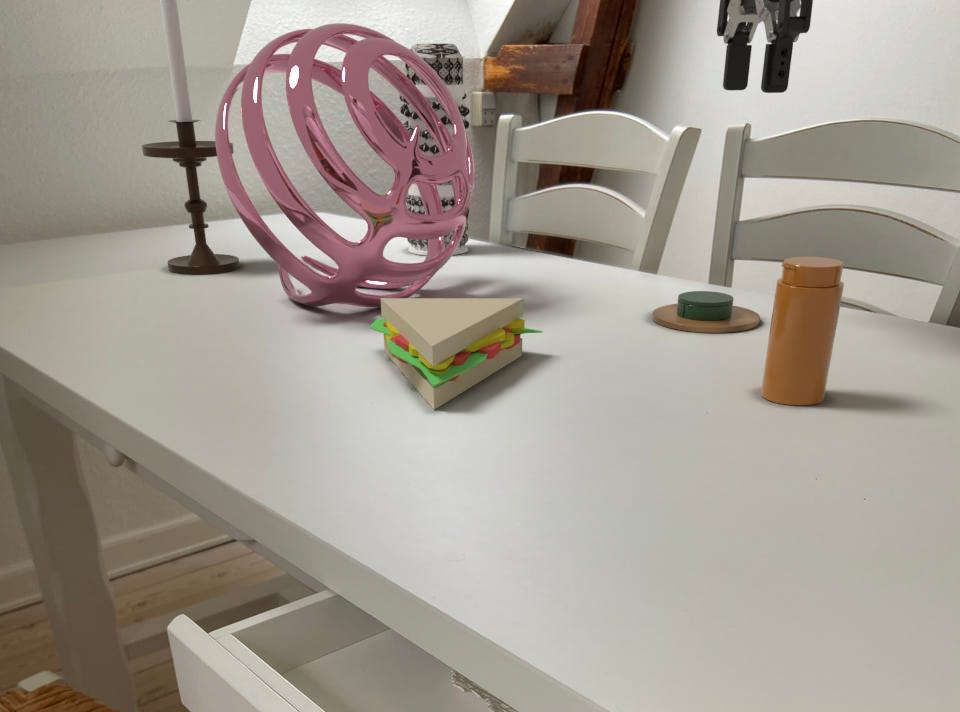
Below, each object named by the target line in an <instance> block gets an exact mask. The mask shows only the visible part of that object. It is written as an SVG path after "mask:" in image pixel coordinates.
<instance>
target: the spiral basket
mask: <svg viewBox="0 0 960 712" xmlns="http://www.w3.org/2000/svg"><path fill="white" fill-rule="evenodd" d="M348 35H351V36H355V37H360V38H363V39H360V40H358V39H356V38H353V37H351V36H348ZM291 44H295V45H294V47H293V49H292V50H291V53H276V52H277V51H279V50H280V49H281V48H283V47H285V46H288V45H291ZM321 46H327V47H329V48H332V49H335V50H338V51H340V52H343V53H345V55H344V58H343V61H342V63H341V69H340V68H338V67H336V66H334V65H332V64H330V63H328V62H325V61H323V60H321V59H317V58H316V55H317V54H318V51H319V50H320V48H321ZM410 49H411V48H408V47H407V46H404V45H403V44H401V43H399V42H397V41H396V40H394V39H392V38H391V37H390V36H387V35H386V34H384V33H381V32H379V31H377V30H375V29H372V28H369V27H366V26H362V25H359V24H355V23H354V24H353V23H345V22H344V23H343V22H342V23H341V22H339V23H338V22H335V23H328V24H323V25H319V26H317V27H315V28H301V29H296V30H292V31H289V32H286V33H284V34H282V35H279V36H277V37H275V38H274V39H272V40H271V41H269V42H268V43H266V44H265V45H264V46H263V47H262V48H261V49H260V50H259V51H258V52H257V53H256V55H255V56H254V57H253V59H252V60H251V62H249V63H248V64H247V65H246V66H244V67H242V69H240V71H238V73H236V74H235V76H234V77H233V78H232V79H231V81H230V83H229V84H228V86H227V87H226V89H225V91H224V93H223V95H222V97H221V100H220V103H219V104H218V105H219V106H218V109H217V114H216V117H215V118H216V120H215V128H214V141H215V145H216V153H217V156H216V159H217V164H218V168H219V172H220V175H221V178H222V181H223V184H224V186H225V189H226V192H227V195H228V197H229V199H230V201H231V203H232V205H233V207H234V209H235V211H236V212H237V214H238V216H239V217H240V219H241V221H242V222H243V224H244V225H245V227H246V229H247V230H248V231H249V233H250V234H251V235H252V237H253V238H254V239H255V241H256V242H257V243H258V244H259V246H260V247H261V248H262V249H263V250H264V252H265V253H266V254H267V255H268V256H269V257H270V258H271V259H272V260H273V261H274V262H275V263H276V264H277V265H278V272H279V273H278V274H279V279H280V283H281V286H282V289H283V291H284V292H285V293H286V294H285V295H287V296H288V298H290V299H291V300H292V301H294V302H296V303H298V304H300V305H303V306H307V307H313V308H314V307H315V308H318V307H324V306H329V305H336V304H337V305H346V306H354V307H360V308H381V298H411V297H412V296H413V295H415V294H416V293H418V292H419V291H420V290H422V288H423V287H425V286H426V285H427V284H428V282H429V281H430V280H431V279H432V278H433V277H434V276H435V275H436V274H437V273H438V272H439V271H440V269H442V268H443V267H444V266H445V265H446V264H447V263H448V262H449V260H450V259H451V258H452V256H454V255H453V253H454V252H455V250H456V248H457V246H458V245H459V243H460V240H461V238H462V236H463V233H464V231H465V227H466V224H467V223H468V220H469V215H470V210H471V207H472V201H473V196H474V190H475V177H476V175H475V161H474V155H473V151H472V146H471V142H470V139H469V135H468V132H467V129H465V127H464V123H463V120H464V119H463V117H461V114H460V111H459V109H458V106H457V104H456V102H455V100H454V98H453V96H452V94H451V93H450V91H449V89H448V88H447V86H446V85H445V83H444V82H443V81H442V79H441V78H440V77H439V75H438V74H437V73H436V72H435V71H434V70H433V69H432V68H431V67H430V65H428V64H427V63H426V62H425V61H424V60H423V59H422V58H421V57H420V56H418V55H417V54H416V53H414V52H413V51H411V50H410ZM275 53H276V54H275ZM385 56H393V57H397V58H398V59H400V60H401V61H403V63H404V64H405V63H406V64H407V65H408V66H409V67H410V68H411V69H412V70H413V71H414V72H415V73H416V74H417V75H418V76H419V77H420V78H421V79H422V80H423V81H424V82H425V84H426V85H427V86H428V87H429V88H430V90H431V91H432V92H433V94H434V95H435V96H436V98H437V99H438V101H439V102H440V104H441V105H442V107H443V108H444V110H445V112H446V114H447V115H448V117H449V119H450V121H451V123H452V125H453V130H454V137H453V136H452V135H451V133H450V132H449V130H448V129H447V128H446V126H445V125H444V124H443V123H442V122H441V120H440V118H439V117H438V115H437V114H436V112H435V111H434V109H433V108H432V106H431V105H430V103H429V102H428V101H427V99H426V98H425V97H424V95H423V94H422V93H421V92H420V91H419V89H418V88H417V87H416V86H415V85H414V84H413V83H412V82H411V80H410V79H409V78H408V77H407V76H406V73H404V72H402V70H400V68H398V66H396V65H395V64H394V63H393V62H391V61H390V60H389V59H388V58H387V57H385ZM370 69H371V70H373V71H375V72H376V73H377V74H378V75H379V76H381V77H382V78H383V79H384V80H385V81H387V83H389V84H390V85H391V86H392V87H393V88H394V89H395V90H396V91H397V92H398V93H399V95H400V94H401V95H402V96H403V97H404V98H405V99H406V100H407V102H408V103H409V104H410V105H411V106H412V108H413V109H414V110H415V111H416V113H417V114H418V115H419V117H420V118H421V120H422V121H423V123H424V124H425V126H426V127H427V129H428V130H429V132H430V134H431V135H432V137H433V139H434V141H435V143H436V145H437V147H438V149H439V151H440V153H441V155H440V156H427V155H423V154H422V152H421V150H420V149H419V136H420V128H419V124H416V125H415V127H414V129H413V132H412V134H411V135H410V133H409V132H408V130H407V129H406V128H405V126H404V125H403V122H402V121H401V120H400V118H399V117H398V116H397V115H396V114H395V112H393V110H392V109H391V108H389V106H388V105H387V104H386V103H385V102H384V101H383V100H382V99H381V98H380V97H379V96H378V95H377V94H375V93H374V92H373V91H372V90H371V89H370V84H369V73H370ZM269 74H285V94H286V100H287V106H288V110H289V114H290V118H291V121H292V124H293V127H294V129H295V131H296V135H297V136H298V140H299V141H300V143H301V145H302V147H303V149H304V151H305V153H306V154H307V156H308V158H309V160H310V161H311V163H312V164H313V166H314V168H315V169H316V171H317V172H318V174H319V175H320V176H321V177H322V178H323V180H324V182H326V184H327V185H328V186H329V188H330V189H331V190H332V191H333V192H334V193H335V194H336V195H337V196H338V197H339V198H340V199H341V200H342V201H343V202H344V204H346V205H347V206H348V207H350V208H351V209H352V210H353V211H354V212H356V213H357V214H358V215H359V216H361V218H363V220H364V221H365V222H366V224H367V232H366V233H365V235H364V237H362V238H361V240H359V241H351V240H348V239H346V238H344V237H343V236H341V235H340V234H339V233H338V232H336V230H334V229H333V228H332V227H331V226H329V225H328V224H327V223H326V222H325V221H324V220H323V219H322V218H321V217H320V216H319V215H318V214H317V213H316V212H315V211H314V210H313V209H312V207H311V206H309V204H308V203H307V202H306V200H305V199H304V198H303V197H302V196H301V194H300V193H299V192H298V191H299V190H297V189H296V187H295V186H294V184H293V182H292V181H291V179H290V178H289V176H288V175H287V173H286V171H285V169H284V167H283V166H282V164H281V162H280V160H279V158H278V155H277V154H276V152H275V150H274V146H273V144H272V141H271V139H270V136H269V133H268V129H267V126H266V121H265V116H264V111H263V110H264V109H263V99H262V89H263V79H264V75H269ZM313 81H315V82H317V83H320V84H321V85H324V86H326V87H328V88H330V89H332V90H333V91H334V92H337V93H338V94H340V95H341V96H343V98H344V101H345V104H346V107H347V109H348V112H349V114H350V116H351V119H352V121H353V122H354V124H355V126H356V128H357V130H358V131H359V134H361V136H362V138H363V139H364V140H365V141H366V143H367V144H368V145H369V147H370V148H371V149H372V150H373V152H375V154H376V155H377V156H379V158H380V159H382V161H384V163H386V164H387V165H388V166H389V167H390V168H391V169H392V170H393V172H394V180H393V183H392V185H391V187H390V189H389V191H388V192H387V193H386V194H379V193H377V192H376V191H374V190H373V189H371V188H370V187H369V186H368V184H366V183H365V182H364V181H363V180H362V179H361V178H360V177H359V176H358V175H357V174H356V173H355V172H354V171H353V170H352V169H351V167H350V166H349V165H348V164H347V163H346V160H345V159H343V157H342V155H341V154H340V153H339V151H338V150H337V148H336V147H335V145H334V144H333V142H332V140H331V139H330V137H329V135H328V133H327V131H326V129H325V127H324V124H323V121H322V120H321V117H320V115H319V112H318V108H317V105H316V101H315V98H314V97H315V96H314V91H313ZM241 87H242V89H241V95H240V96H241V98H240V113H241V121H242V128H243V134H244V137H245V141H246V144H247V148H248V151H249V154H250V156H251V159H252V161H253V163H254V166H255V168H256V171H257V173H258V175H259V176H260V179H261V180H262V182H263V184H264V186H265V188H266V189H267V191H268V193H269V195H270V196H271V197H272V199H273V200H274V202H275V203H276V205H277V206H278V208H279V209H280V210H281V211H282V213H283V214H284V215H285V217H286V218H287V219H288V221H290V223H291V224H292V225H293V226H294V227H295V229H297V231H299V232H300V234H302V235H303V237H304V238H306V239H307V240H308V241H309V242H310V243H311V244H312V245H314V246H315V247H316V248H317V249H318V250H320V251H321V252H322V253H323V254H325V255H326V256H327V257H328V258H330V259H331V260H332V261H333V262H334V263H335V264H336V265H337V267H334V266H331V265H328V264H325V263H324V262H321V261H318V260H317V259H315V258H312V257H310V256H308V255H301V259H302V260H303V261H301V259H299V258H298V257H297V256H296V255H295V254H294V253H293V252H292V251H290V249H289V248H288V247H286V246H285V244H283V242H282V241H280V240H279V238H278V237H277V236H276V235H275V233H274V232H273V231H272V230H271V228H270V227H269V226H268V225H267V224H266V222H265V221H264V220H263V218H262V217H261V215H260V213H259V212H258V210H257V209H256V208H255V206H254V204H253V202H252V201H251V199H250V197H249V195H248V193H247V191H246V189H245V187H244V185H243V183H242V180H241V178H240V176H239V173H238V169H237V167H236V165H235V164H236V163H235V161H234V157H233V154H232V153H231V148H230V143H231V142H230V136H229V116H230V111H231V110H230V109H231V105H232V103H233V99H234V97H235V95H236V93H237V92H238V91H239V89H240V88H241ZM462 119H463V120H462ZM229 142H230V143H229ZM450 180H451V184H452V188H453V194H454V200H455V206H454V207H453V208H451V209H450V210H448V211H446V212H443V210H442V204H441V200H440V196H439V192H438V189H437V186H436V185H438V184H443V183H446V182H449V181H450ZM413 183H416V185H417V187H418V190H419V193H420V195H421V198H422V202H423V205H424V209H425V213H426V215H425V214H418V213H413V212H411V211H409V210H408V209H409V208H408V207H407V202H406V198H407V197H408V194H409V188H410V187H411V185H412V184H413ZM453 230H454V231H453ZM452 231H453V234H452V237H451V239H450V241H449V243H448V245H447V246H446V248H445V249H444V250H443V244H444V236H445V235H447V234H449V233H450V232H452ZM395 238H403V239H404V238H405V239H407V238H408V239H414V240H428V250H427V255H425V258H424V260H423V261H421V262H414V263H411V262H410V263H409V262H407V263H406V262H397V261H392V260H389V259H388V258H387V259H386V257H385V256H384V250H385V248H386V247H387V244H388V243H389V242H390V241H391V240H393V239H395ZM304 262H305V263H304ZM308 265H309V266H310V267H309V266H308ZM311 267H312V268H313V269H312V268H311ZM314 269H315V270H317V271H319V272H321V273H323V274H324V275H323V274H321V273H319V272H317V271H315V270H314ZM290 276H291V277H293V278H294V279H295V280H297V281H298V282H299V283H301V284H302V285H304V286H305V287H306V288H308V289H309V291H310V293H307V294H301V293H300V292H299V291H298V290H297V289H296V288H295V286H294V284H293V282H292V280H291V278H290ZM408 286H409V287H408ZM357 287H361V288H366V289H375V290H391V289H401V288H405V287H407V288H406V289H404V290H401V291H398V292H396V293H391V294H370V293H366V292H362V291H358V290H357V289H356V288H357Z"/></svg>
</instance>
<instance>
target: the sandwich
mask: <svg viewBox="0 0 960 712" xmlns="http://www.w3.org/2000/svg"><path fill="white" fill-rule="evenodd" d="M380 311H381V312H380V313H381V317H382V318H376V319H375V320H374V322H373V323H371V325H370V326H369V329H371V330H372V331H376V332H378V333H382V334H383V349H384V351H383V352H384V353H385V354H386V355H387V356H388V358H389V359H390V360H391V361H392V362H393V364H395V366H396V367H397V369H399V370H400V372H401V373H402V374H403V375H404V376H405V378H406V379H407V380H408V381H409V382H410V384H411V385H412V386H413V387H414V388H415V389H416V390H417V392H418V393H419V394H420V395H421V396H422V397H423V399H424V400H425V401H426V402H427V403H428V404H429V406H430V408H432V409H433V410H436V409H438V408H439V407H441V406H443V405H444V404H446V403H448V402H449V401H451V400H453V399H454V398H455V397H458V396H460V395H461V394H462V393H464V392H466V391H467V390H469V389H471V388H472V387H474V386H475V385H477V384H478V383H480V382H482V381H483V380H485V379H487V378H488V377H490V376H491V375H493V374H495V373H496V372H498V371H500V370H501V369H503V368H505V367H506V366H508V365H509V364H511V363H513V362H514V361H516V360H517V359H519V358H521V357H522V356H523V338H522V337H521V335H523V334H539V333H540V334H542V333H543V330H539V329H532V328H528V327H525V320H524V319H522V318H523V317H524V298H522V297H521V298H518V297H517V298H515V297H514V298H513V297H511V298H510V297H509V298H499V297H498V298H497V297H496V298H493V297H491V298H489V297H488V298H487V297H486V298H485V297H483V298H481V297H480V298H479V297H476V298H472V297H471V298H470V297H468V298H467V297H464V298H463V297H460V298H458V297H457V298H451V297H449V298H448V297H446V298H445V297H443V298H441V297H439V298H438V297H437V298H435V297H434V298H433V297H432V298H430V297H429V298H428V297H425V298H424V297H423V298H422V297H421V298H420V297H419V298H414V297H412V298H411V297H409V298H381V307H380Z"/></svg>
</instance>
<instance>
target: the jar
mask: <svg viewBox="0 0 960 712" xmlns="http://www.w3.org/2000/svg"><path fill="white" fill-rule="evenodd" d="M781 268H782V271H781V277H779V278H778V279H777V280H776V284H775V293H774V300H773V307H772V313H771V321H770V327H769V334H768V342H767V349H766V356H765V362H764V368H763V377H762V383H761V390H760V395H761V397H762V398H763V399H765V400H767V401H769V402H772V403H775V404H780V405H787V406H811V405H812V406H813V405H816V404H819V403H822V402H823V401H824V400H825V394H826V389H827V383H828V379H829V372H830V366H831V361H832V356H833V350H834V349H833V348H834V343H835V338H836V332H837V327H838V321H839V317H840V309H841V304H842V299H843V292H844V287H845V283H844V282H843V281H842V276H843V269H844V262H843V261H841V260H839V259H835V258H830V257H822V256H792V257H788V258H785V259H784V260H783V262H782V263H781Z"/></svg>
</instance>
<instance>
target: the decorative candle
mask: <svg viewBox="0 0 960 712" xmlns="http://www.w3.org/2000/svg"><path fill="white" fill-rule="evenodd" d="M409 49H410V50H411V51H413V52H414V53H416V54H417V55H418V56H420V57H421V58H422V59H423V60H424V61H425V62H426V63H427V64H428V65H430V67H431V68H432V69H433V70H434V71H435V72H436V73H437V74H438V75H439V77H440V78H441V79H442V81H443V82H444V83H445V85H446V86H447V88H448V89H449V91H450V93H451V94H452V96H453V98H454V100H455V102H456V104H457V106H458V109H459V111H460V114H461V117H462V120H463V123H464V127H465V129H466V130H467V129H468V128H469V127H470V121H468V120H467V119H466V117H467V116H468V115H469V114H470V108H468V106H466V105H463V101H464V100H465V99H466V98H467V94H466V93H465V84H464V59H465V57H464V56H463V55H462V53H461V52H460V50H459V48H458V46H457V45H456V44H454V43H414V44H413V45H412V46H411V47H410V48H409ZM404 69H405V71H404V72H405V75H406V76H407V77H408V78H409V79H410V80H411V82H412V83H413V84H414V85H415V86H416V87H417V88H418V89H419V91H420V92H421V93H422V94H423V95H424V97H425V98H426V99H427V101H428V102H429V103H430V105H431V106H432V108H433V109H434V111H435V112H436V114H437V115H438V117H439V118H440V120H441V122H442V123H443V124H444V125H445V126H446V128H447V129H448V130H449V132H450V133H451V135H452V136H453V137H454V130H453V125H452V123H451V121H450V119H449V117H448V115H447V114H446V112H445V110H444V108H443V107H442V105H441V104H440V102H439V101H438V99H437V98H436V96H435V95H434V94H433V92H432V91H431V90H430V88H429V87H428V86H427V85H426V84H425V82H424V81H423V80H422V79H421V78H420V77H419V76H418V75H417V74H416V73H415V72H414V71H413V70H412V69H411V68H410V67H409V66H408V65H407V64H406V63H405V62H404ZM399 100H400V102H402V103H404V104H403V105H401V106H400V110H399V112H400V114H401V115H403V116H404V117H406V118H407V119H405V121H404V122H402V124H403V125H404V126H405V128H406V129H407V130H408V132H409V133H410V135H411V134H412V132H413V129H414V127H415V125H416V124H419V128H420V136H419V149H420V150H421V152H422V154H423V155H427V156H440V155H441V153H440V151H439V149H438V147H437V145H436V143H435V141H434V139H433V137H432V135H431V134H430V132H429V130H428V129H427V127H426V126H425V124H424V123H423V121H422V120H421V118H420V117H419V115H418V114H417V113H416V111H415V110H414V109H413V108H412V106H411V105H410V104H409V103H408V102H407V100H406V99H405V98H404V97H403V96H402V95H401V94H400V93H399ZM436 186H437V189H438V192H439V196H440V200H441V204H442V210H443V212H446V211H448V210H450V209H451V208H453V207H454V206H455V200H454V194H453V188H452V184H451V180H450V181H449V182H446V183H443V184H438V185H436ZM406 204H408V205H410V206H409V208H407V209H408V210H409V211H411V212H413V213H418V214H425V215H426V213H425V209H424V205H423V202H422V198H421V195H420V193H419V190H418V187H417V185H416V183H413V184H412V185H411V187H410V188H409V191H408V195H407V197H406ZM468 230H469V223H468V222H467V224H466V227H465V231H464V233H463V236H462V238H461V240H460V243H459V245H458V246H457V248H456V250H455V252H454V253H453V255H452V256H456V255H461V254H465V253H466V252H468V251H469V248H468V245H467V244H466V243H468V242H469V235H468V233H467V231H468ZM453 231H454V230H453ZM453 231H452V232H450V233H449V234H447V235H445V236H444V244H443V250H444V249H445V248H446V246H447V245H448V243H449V241H450V239H451V237H452V234H453ZM406 240H407V242H408V243H409V244H410V246H408V252H409V253H411V254H413V255H419V256H426V255H427V250H428V240H414V239H408V238H406Z"/></svg>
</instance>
